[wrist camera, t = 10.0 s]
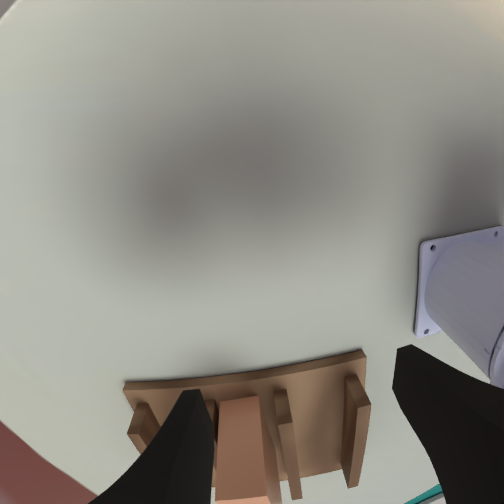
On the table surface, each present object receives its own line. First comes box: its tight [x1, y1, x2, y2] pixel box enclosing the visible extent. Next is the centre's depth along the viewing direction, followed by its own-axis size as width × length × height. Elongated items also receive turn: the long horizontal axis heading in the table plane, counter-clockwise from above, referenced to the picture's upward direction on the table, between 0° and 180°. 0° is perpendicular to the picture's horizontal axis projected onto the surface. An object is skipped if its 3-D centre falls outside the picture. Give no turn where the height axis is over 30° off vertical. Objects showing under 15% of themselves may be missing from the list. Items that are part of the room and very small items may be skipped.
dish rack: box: [123, 350, 371, 500], centre depth 22 cm, size 19×16×4 cm
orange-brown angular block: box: [215, 396, 282, 504], centre depth 19 cm, size 3×8×9 cm, turn 12°
